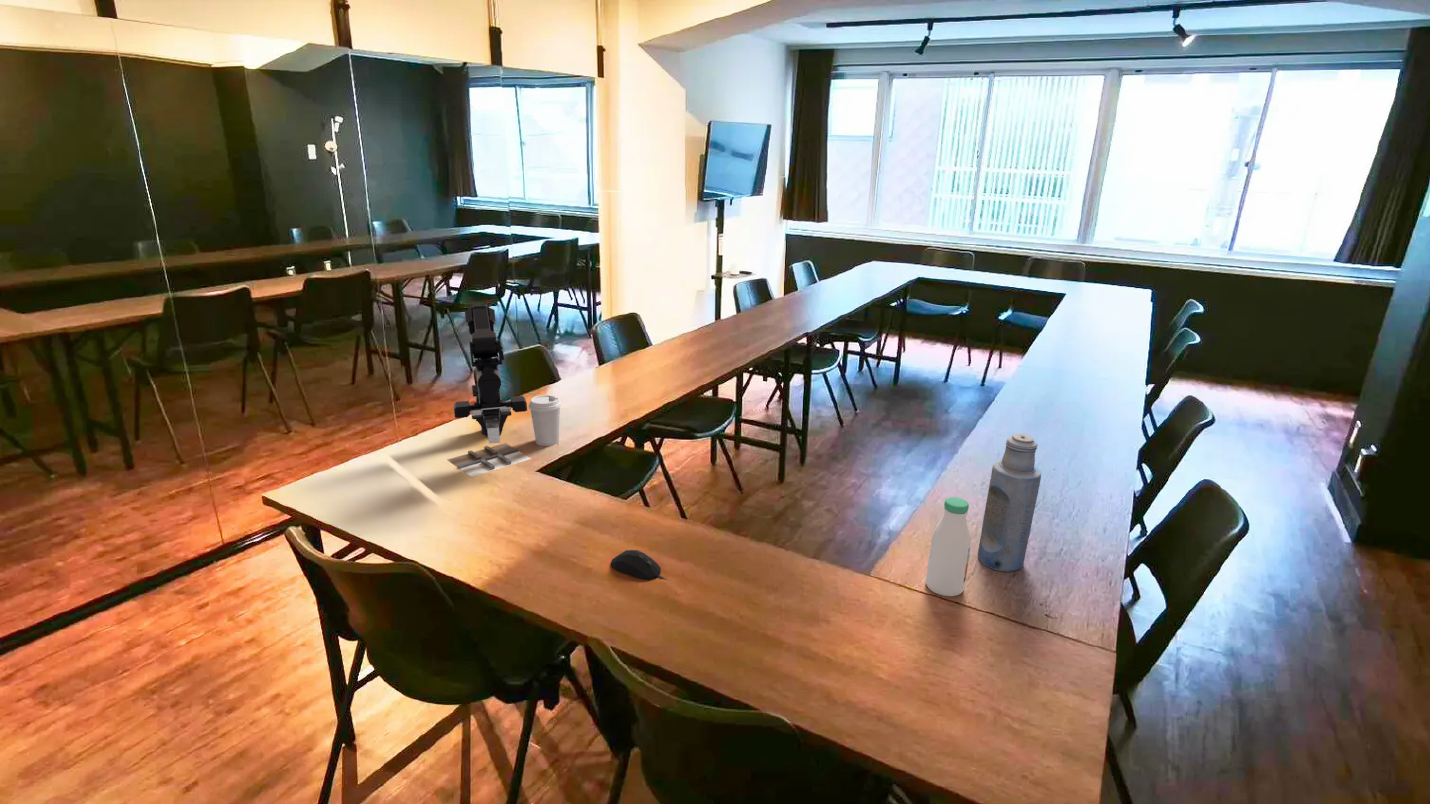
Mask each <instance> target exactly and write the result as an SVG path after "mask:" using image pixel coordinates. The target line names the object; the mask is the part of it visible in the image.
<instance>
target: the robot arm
mask: <svg viewBox="0 0 1430 804" xmlns="http://www.w3.org/2000/svg"><path fill="white" fill-rule="evenodd" d="M495 311H496V310H495V309H494V308H492V307H490V305H487V304H478V305H477V304H475V305H474V304H473V305H472V306H471V305H470V308H469V309H466V310H464V319H465V326H466V327H468V331H469V332H468V333H469V334H470V335H471V341H469V350H470V351H469V352H470V363H471V367H472V368H473V367H475V373H476V375H475V376H476V382H477V384H476V385H475V384H473V385H471V390H472V397H474V398H475V400H476V401H474V402H473V404H470V401H469V400H463V401H455V402H454V404H453V413H454V418H455V419H463V418H468V417H469V416H470V415H471V420H475V422H477V423H478V424H479V425H480V429H481V434H482V435H484V436H485V437H486V438H488V432H487V424H486V419H490V418H497V419H498V426H499V435H500V436H501V435H502V433H503V429H504V427H505V426H504V425H505V423H506V422H507V419H508V417H509V416H510V417H511V416H512V411H513V412H514V413H521V412H527V411H528V403H527V399H526V397H525V396H524V395H519V396H518V395H517V396H510V400H508V401H507V400H505V401H504V400H503V399H502V395H501V393H502V392H501V386H502V380H501V379H502V378H501V374H500V371H499V365H503V361H504V360H505V355H504V349H503V348H504V347H503V343H502V342H501V340H500V339H497V334H496V332H495V327H494V326H495V325H497V320H496V319H497V318H496V312H495ZM511 410H512V411H511Z"/></svg>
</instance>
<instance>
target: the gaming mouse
mask: <svg viewBox="0 0 1430 804" xmlns="http://www.w3.org/2000/svg"><path fill="white" fill-rule="evenodd" d="M610 565H611V568H612V569H613V570H615V571H617V572H618V573H621V574H624V575H626V576H630V577H633V578H636V579H638V580H642V581H650V580H653V579H657V578H659V580H660V579H661V580H665V581H668V579H667V578H664V576H662V575H661V573H662V570H661V569H662V567H661V566H660V565H659V564H658V563H657V562H656V561H655V560H654V559H653V558H652V557H650V556H649V555H648V554H646V553H645V552H642V551H640V550H638V549H630V550H629V549H628V550H627V549H626V550H624V551H622V552H621V553H619V554H617V556H614V557H613V558H612V559H611V562H610Z"/></svg>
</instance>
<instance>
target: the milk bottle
mask: <svg viewBox="0 0 1430 804" xmlns="http://www.w3.org/2000/svg"><path fill="white" fill-rule="evenodd" d="M969 505H970V504H969V502H968V501H967V500H966V499H964V498H961V497H956V496H949V497H948V498H945V500H944V505H943V511H944V513H943V515H942V517H941V519H940V520H939V522H938V523H937V525H936V526H935V527H934V530H933V533H932V536H931V541H930V547H929V555H928V562H927V568H926V569H927V570H926V577H925V585H926V586H927V587H928V589H929V590H930V591H931V592H932V593H935V594H937V595H940V596H943V597H950V598H952V597H956V596H959V595H961V594H962V593H963V592H964V589H965V584H966V579H967V574H968V573H967V572H968V567H969V559H970V552H971V544H972V541H971V540H972V537H971V531H970V529H969V527H968V526H969V525H968V523H967V515H968V511H969Z"/></svg>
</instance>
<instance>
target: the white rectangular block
mask: <svg viewBox="0 0 1430 804" xmlns="http://www.w3.org/2000/svg"><path fill="white" fill-rule="evenodd" d="M486 424H487V432H488V437H487V440H488V444H489V445H490V444H499V443H501V437H500V435H499V426H498V419H497V418H490V419H486Z"/></svg>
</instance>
